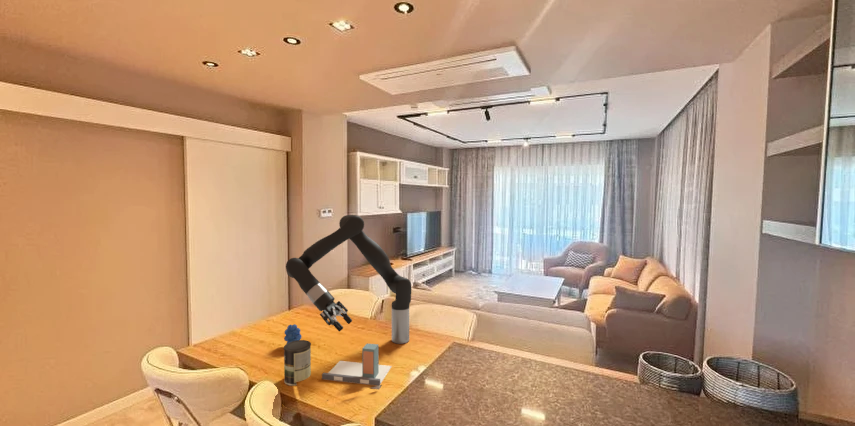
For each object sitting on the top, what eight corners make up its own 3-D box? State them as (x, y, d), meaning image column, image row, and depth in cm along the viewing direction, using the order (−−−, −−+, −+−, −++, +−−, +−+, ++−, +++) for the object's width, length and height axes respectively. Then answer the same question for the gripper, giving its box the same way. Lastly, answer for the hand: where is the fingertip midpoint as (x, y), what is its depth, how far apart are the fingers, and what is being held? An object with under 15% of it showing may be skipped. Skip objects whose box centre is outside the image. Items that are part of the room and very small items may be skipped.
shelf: (340, 364, 152) (340, 356, 152) (391, 369, 147) (391, 361, 147) (321, 382, 136) (321, 374, 136) (379, 389, 131) (379, 380, 131)
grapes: (308, 347, 169) (307, 323, 168) (296, 352, 163) (296, 327, 163) (292, 342, 175) (292, 319, 174) (280, 347, 169) (280, 323, 169)
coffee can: (280, 386, 133) (279, 351, 133) (288, 373, 143) (288, 340, 143) (307, 385, 134) (307, 350, 133) (313, 372, 144) (313, 339, 144)
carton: (367, 371, 142) (366, 343, 141) (378, 373, 141) (378, 344, 140) (362, 378, 137) (362, 348, 136) (374, 379, 136) (374, 349, 135)
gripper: (317, 295, 134) (344, 326, 132) (334, 286, 148) (359, 314, 146) (305, 307, 136) (332, 338, 134) (323, 298, 150) (347, 325, 148)
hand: (346, 326), depth 140 cm, fingers open, 8 cm apart
